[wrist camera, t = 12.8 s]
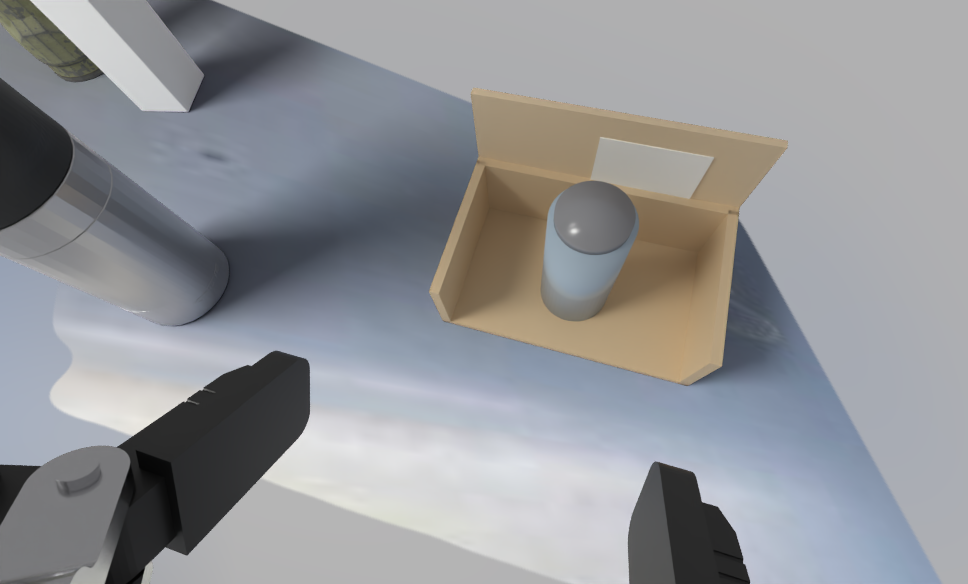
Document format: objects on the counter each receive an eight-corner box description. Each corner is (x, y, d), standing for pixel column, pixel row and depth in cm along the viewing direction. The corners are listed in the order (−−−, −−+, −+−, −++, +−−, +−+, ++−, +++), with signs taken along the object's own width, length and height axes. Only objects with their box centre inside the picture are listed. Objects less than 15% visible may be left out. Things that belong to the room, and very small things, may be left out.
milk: (143, 112, 55) (-82, -105, 34) (161, 74, 57) (-40, -150, 37) (190, 112, 54) (-11, -109, 34) (206, 74, 56) (27, -154, 36)
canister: (533, 311, 41) (537, 242, 29) (549, 254, 43) (560, 167, 31) (599, 329, 40) (632, 264, 28) (613, 269, 42) (649, 185, 30)
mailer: (443, 321, 42) (408, 248, 29) (486, 196, 46) (473, 87, 34) (687, 385, 38) (774, 336, 25) (707, 243, 43) (787, 140, 30)
